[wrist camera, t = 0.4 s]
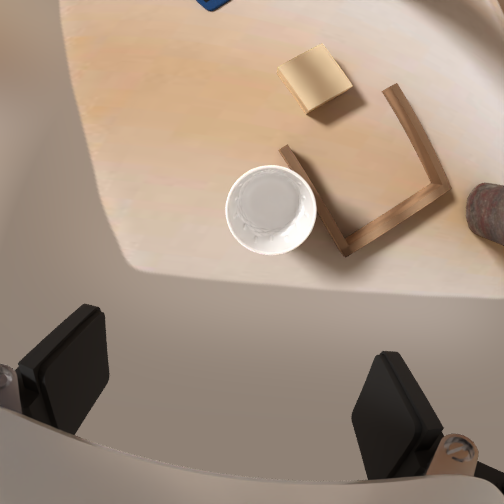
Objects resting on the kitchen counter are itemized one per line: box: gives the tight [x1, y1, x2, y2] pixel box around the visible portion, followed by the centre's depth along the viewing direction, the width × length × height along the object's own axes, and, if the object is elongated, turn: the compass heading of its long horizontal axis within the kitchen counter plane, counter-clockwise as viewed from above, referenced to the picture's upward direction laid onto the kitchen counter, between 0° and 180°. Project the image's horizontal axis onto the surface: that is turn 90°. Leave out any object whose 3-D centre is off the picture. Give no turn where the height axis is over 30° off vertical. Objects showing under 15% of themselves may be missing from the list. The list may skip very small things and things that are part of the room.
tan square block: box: [277, 44, 353, 114], centre depth 33 cm, size 6×6×3 cm
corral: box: [279, 83, 452, 258], centre depth 35 cm, size 16×14×3 cm
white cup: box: [226, 165, 317, 255], centre depth 33 cm, size 8×8×10 cm
